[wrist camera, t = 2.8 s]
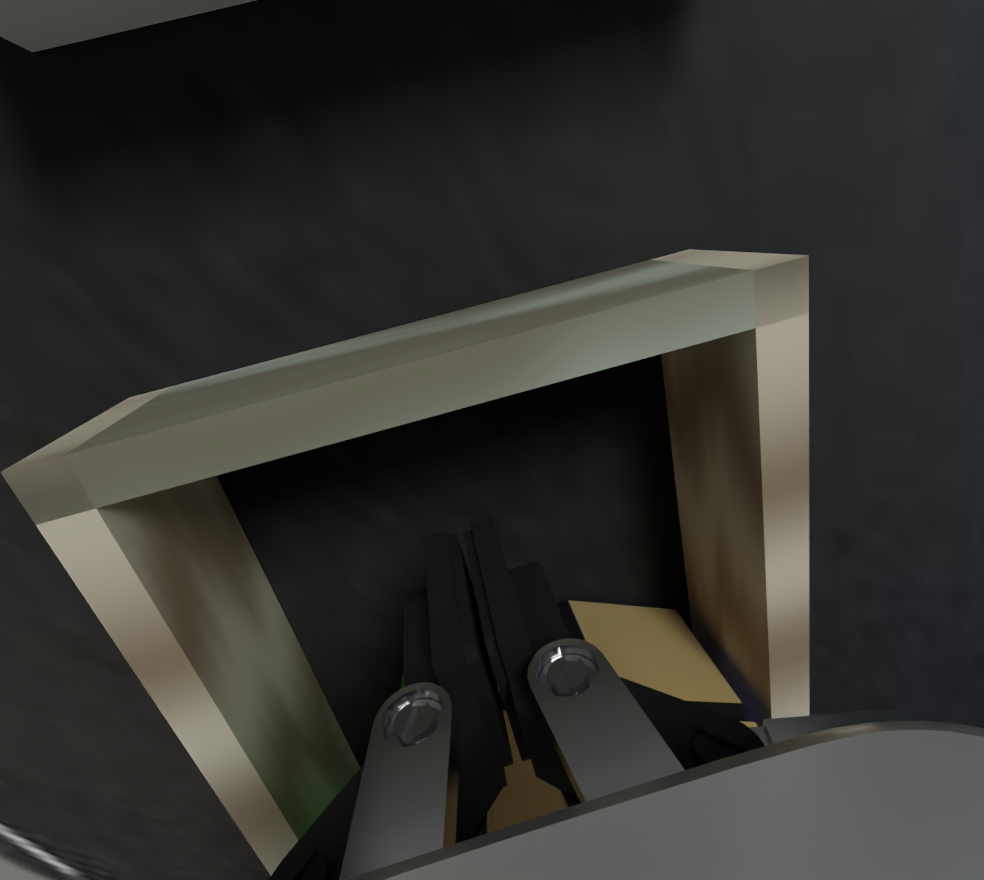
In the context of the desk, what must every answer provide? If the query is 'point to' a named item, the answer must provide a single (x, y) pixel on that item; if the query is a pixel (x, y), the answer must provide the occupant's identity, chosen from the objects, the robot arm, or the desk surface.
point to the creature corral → (90, 18)
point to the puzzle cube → (634, 656)
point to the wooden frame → (407, 398)
